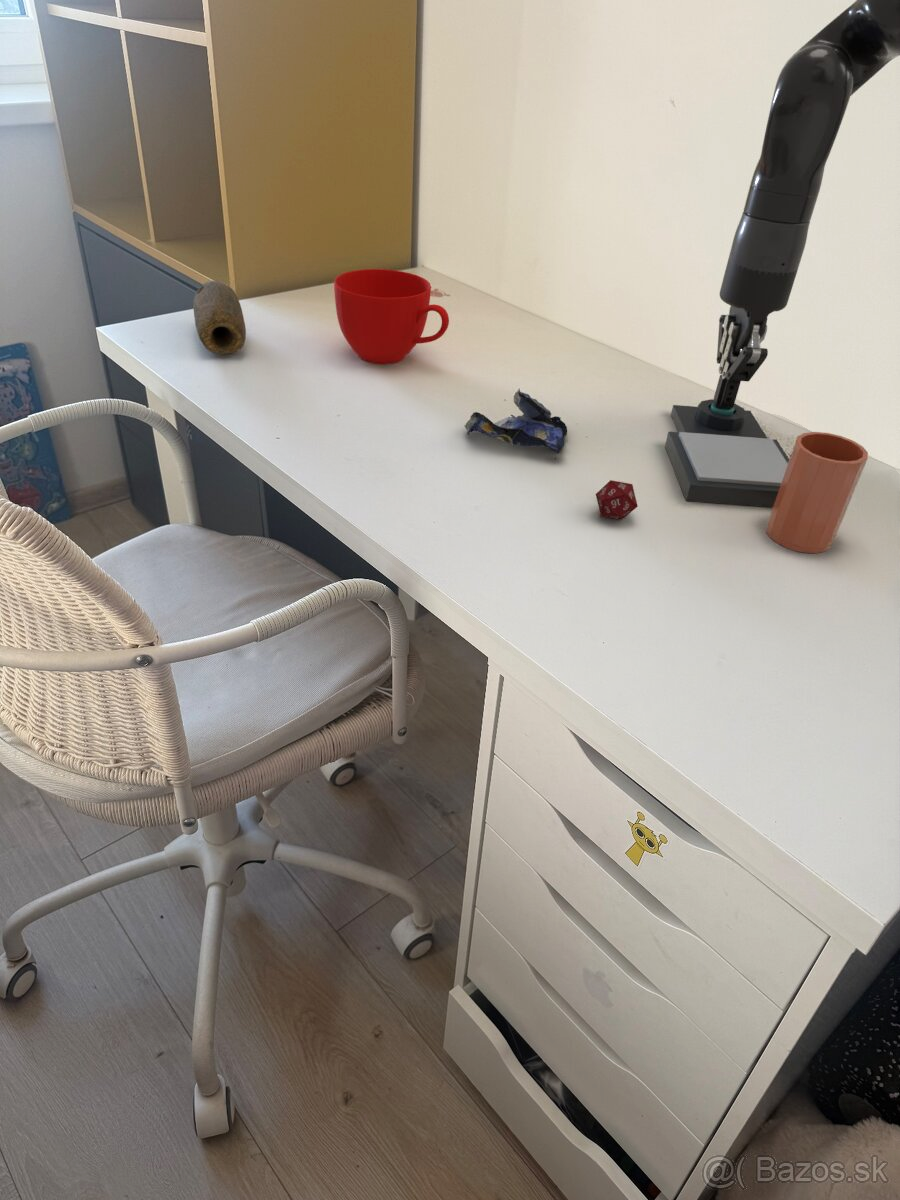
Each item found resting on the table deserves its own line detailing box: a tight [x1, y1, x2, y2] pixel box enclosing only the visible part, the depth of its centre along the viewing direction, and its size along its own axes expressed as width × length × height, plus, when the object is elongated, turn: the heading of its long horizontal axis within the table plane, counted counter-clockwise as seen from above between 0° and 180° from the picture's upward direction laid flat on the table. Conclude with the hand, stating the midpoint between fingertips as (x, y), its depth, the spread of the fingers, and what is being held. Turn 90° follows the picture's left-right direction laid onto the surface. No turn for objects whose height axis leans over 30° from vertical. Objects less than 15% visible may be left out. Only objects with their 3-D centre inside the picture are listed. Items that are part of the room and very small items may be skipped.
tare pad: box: [670, 398, 768, 439], centre depth 103 cm, size 10×8×3 cm
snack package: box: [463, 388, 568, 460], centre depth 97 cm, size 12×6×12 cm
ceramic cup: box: [333, 268, 450, 365], centre depth 113 cm, size 13×17×10 cm
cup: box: [765, 431, 869, 554], centre depth 82 cm, size 6×6×10 cm
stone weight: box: [192, 280, 247, 355], centre depth 115 cm, size 15×7×7 cm, turn 20°
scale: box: [664, 431, 790, 508], centre depth 94 cm, size 13×13×2 cm
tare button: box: [710, 403, 734, 415], centre depth 102 cm, size 3×3×2 cm
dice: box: [595, 479, 639, 521], centre depth 84 cm, size 4×4×4 cm
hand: (722, 406), depth 102 cm, fingers closed
